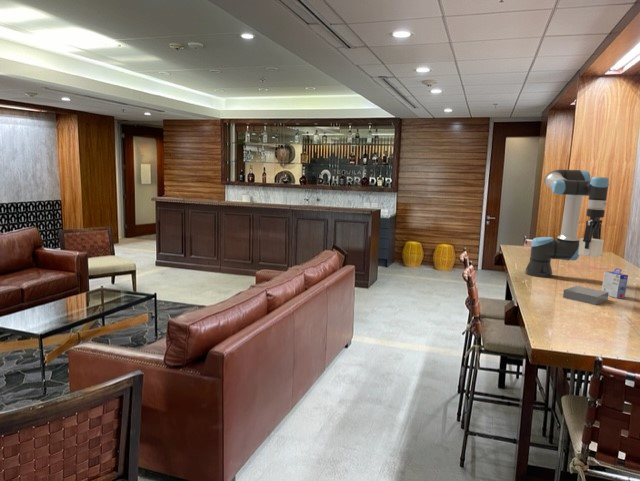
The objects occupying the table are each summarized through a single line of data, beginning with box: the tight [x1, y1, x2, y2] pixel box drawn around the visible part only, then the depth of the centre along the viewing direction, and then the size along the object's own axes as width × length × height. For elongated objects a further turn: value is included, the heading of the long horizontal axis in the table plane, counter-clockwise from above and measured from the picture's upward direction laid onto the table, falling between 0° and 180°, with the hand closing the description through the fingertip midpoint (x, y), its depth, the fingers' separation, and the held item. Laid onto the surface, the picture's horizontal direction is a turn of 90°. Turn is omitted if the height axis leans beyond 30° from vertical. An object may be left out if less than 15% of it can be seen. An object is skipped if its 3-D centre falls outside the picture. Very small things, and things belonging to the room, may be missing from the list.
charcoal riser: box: [562, 285, 609, 306], centre depth 228 cm, size 16×15×4 cm
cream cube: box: [578, 237, 605, 258], centre depth 225 cm, size 8×8×8 cm
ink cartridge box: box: [600, 267, 629, 299], centre depth 236 cm, size 10×6×14 cm, turn 15°
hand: (589, 254), depth 226 cm, fingers closed on cream cube, 8 cm apart
